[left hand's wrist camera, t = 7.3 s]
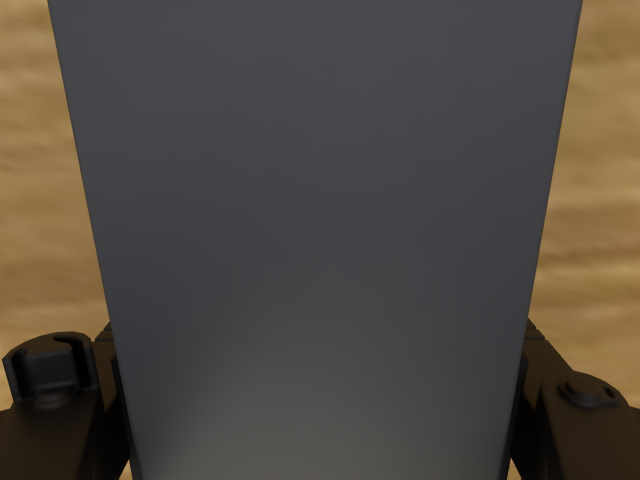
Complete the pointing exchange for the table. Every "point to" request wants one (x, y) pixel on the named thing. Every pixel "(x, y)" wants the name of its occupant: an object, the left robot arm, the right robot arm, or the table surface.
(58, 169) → the table surface
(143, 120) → the bar
